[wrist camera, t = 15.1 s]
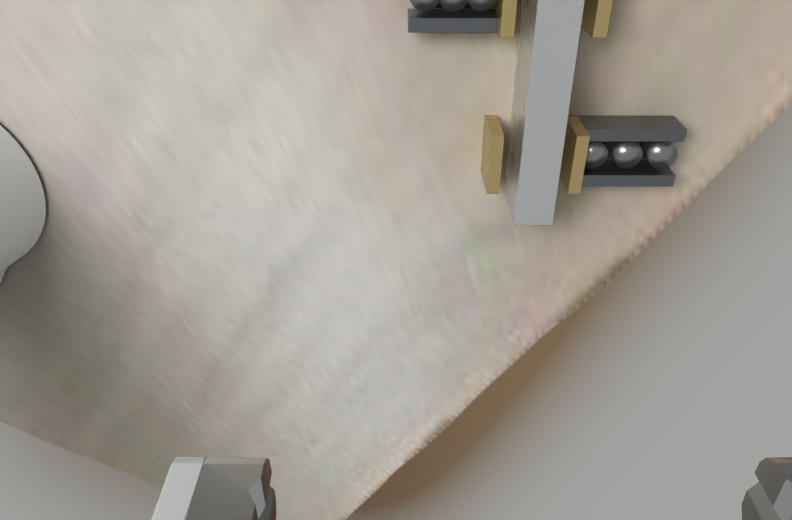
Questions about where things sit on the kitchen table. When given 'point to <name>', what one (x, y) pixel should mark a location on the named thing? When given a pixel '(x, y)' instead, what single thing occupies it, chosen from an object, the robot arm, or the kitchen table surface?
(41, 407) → the kitchen table surface
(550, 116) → the long grey beam
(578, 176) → the ball bearing track
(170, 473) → the robot arm
